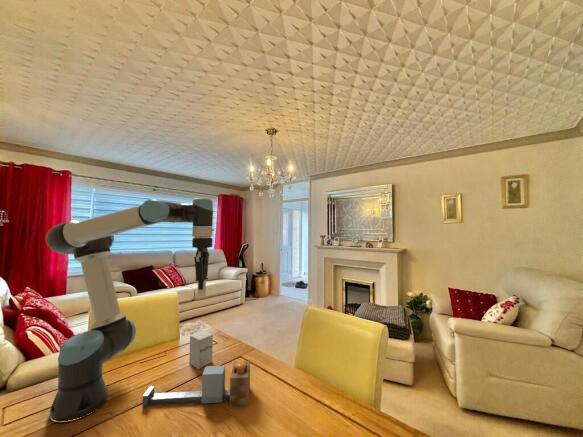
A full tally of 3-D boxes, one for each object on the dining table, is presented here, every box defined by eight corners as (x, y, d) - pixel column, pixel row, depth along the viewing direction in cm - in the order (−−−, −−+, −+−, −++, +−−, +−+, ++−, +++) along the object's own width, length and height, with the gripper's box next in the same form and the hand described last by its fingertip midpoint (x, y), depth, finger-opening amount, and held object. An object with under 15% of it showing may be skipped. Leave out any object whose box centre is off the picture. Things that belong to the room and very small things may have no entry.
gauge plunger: (234, 385, 87) (234, 367, 88) (235, 379, 91) (236, 361, 91) (245, 385, 88) (245, 367, 88) (246, 378, 92) (246, 361, 92)
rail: (142, 407, 84) (142, 395, 84) (149, 397, 89) (149, 386, 89) (230, 402, 87) (231, 391, 87) (233, 392, 92) (233, 382, 92)
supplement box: (198, 369, 106) (198, 340, 107) (189, 363, 111) (189, 335, 111) (212, 362, 112) (213, 334, 112) (203, 356, 117) (203, 329, 117)
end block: (229, 407, 84) (230, 378, 84) (234, 388, 94) (234, 362, 94) (247, 406, 85) (247, 377, 85) (249, 387, 95) (250, 361, 95)
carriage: (201, 403, 86) (202, 374, 86) (205, 392, 91) (206, 366, 91) (222, 402, 86) (222, 374, 86) (224, 391, 92) (225, 365, 92)
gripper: (208, 238, 91) (207, 302, 91) (215, 236, 104) (214, 292, 104) (187, 238, 91) (186, 302, 90) (197, 236, 104) (196, 292, 103)
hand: (201, 297), depth 97 cm, fingers closed
